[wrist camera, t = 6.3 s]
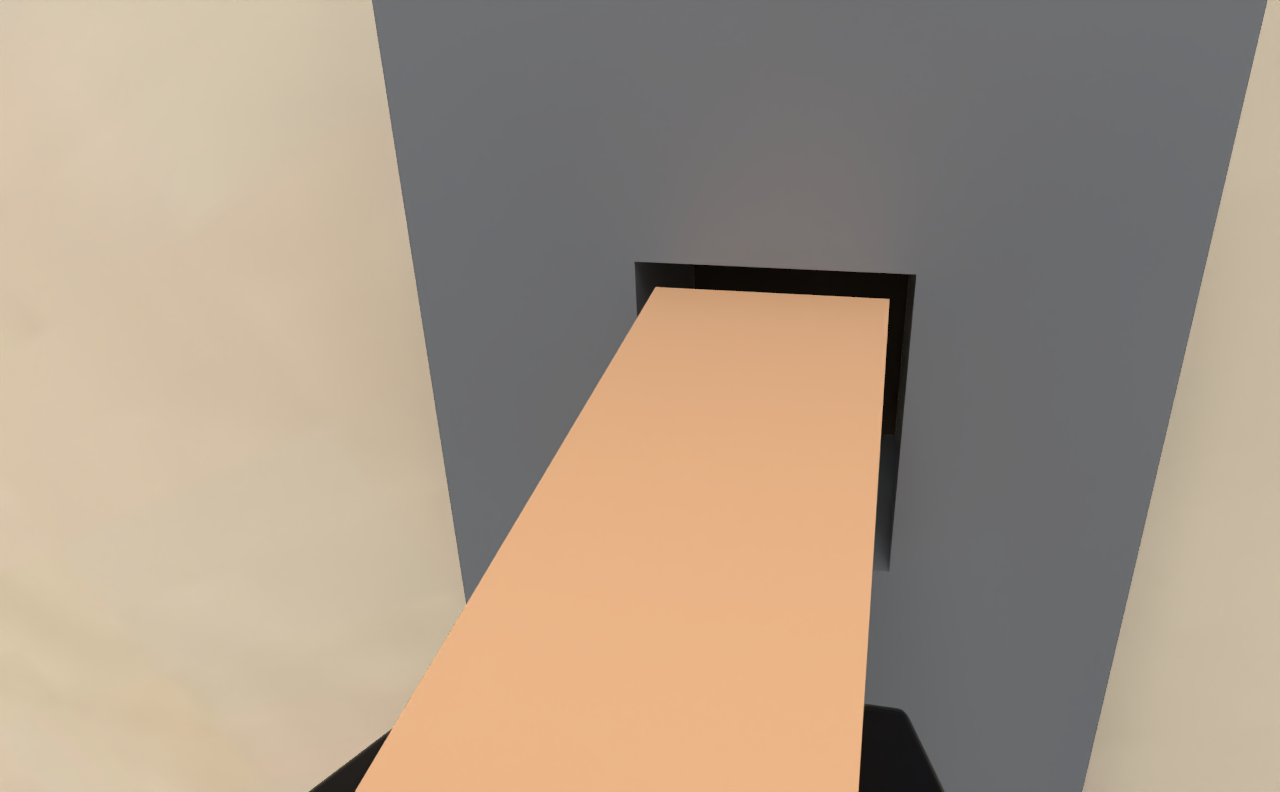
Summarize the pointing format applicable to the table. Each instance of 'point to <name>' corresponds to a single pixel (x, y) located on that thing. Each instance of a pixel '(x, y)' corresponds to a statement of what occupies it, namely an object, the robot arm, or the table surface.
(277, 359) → the table surface
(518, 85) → the block
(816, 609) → the terracotta plug
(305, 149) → the table surface
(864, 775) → the robot arm
